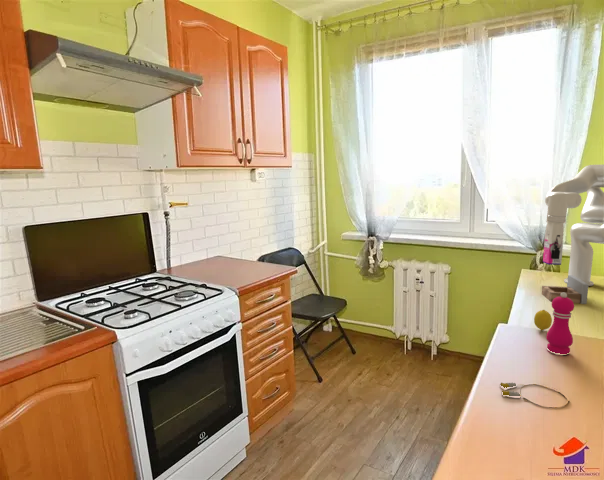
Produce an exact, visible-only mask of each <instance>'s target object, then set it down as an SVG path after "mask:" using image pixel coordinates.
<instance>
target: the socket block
mask: <svg viewBox="0 0 604 480" xmlns="http://www.w3.org/2000/svg"><path fill="white" fill-rule="evenodd" d="M562 292H565V293H566V294H567V298H569V299H571V300H572V301H573V303H574V304H581V303H580V300H581V294H580V293H578V292H577V291H575V290H574V289H572V288H571V287H567V286H557V285H556V286H553V285H542V287H541V295H542V296H543V297H545V298H546V299H547V300H548V301H550V302H551V303H552V301H553V299H554V298H556V297H561V296H560V294H561V293H562Z"/></svg>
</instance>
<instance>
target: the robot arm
mask: <svg viewBox="0 0 604 480" xmlns="http://www.w3.org/2000/svg"><path fill="white" fill-rule="evenodd" d="M602 188H604V164H589V165H586V166H584V167H583V168H582V169H581V170H580V171H579V172H578V173H577V174H576V175H575V176H574V177H573V178H572V179H569V180H566V181H564V182H561V183H559V184H556V185H555V186H553V187H552V188H551V189H550V190H549V191H548V192H547V194H546V196H545V198H544V202H545V204H546V206H547V215H546V228H545V234H544V240H545V239H547V240H548V243H549V244H552V243H553V250H552V253H551V258H552V259H559V256H560V247H561V244H562V242H563V243H564V231H565V229H564V228H565V227H564V224H566V222H567V221H566V220H567V212H568V209H575V208H577V207H579V206H580V205H581V203H582V196H581V194H583V193H585V192H586V199H585V203H584V205H583V207H582V208H581V209H582V210H581V212H580V220H581V221H582V222H577V223H574V224H573V225H571V227H570V231H569V232H570V233H569V234H570V252H569V253H570V254H569V255H570V256H569V265H568V275H573V276H575V277H576V278H578V279H580V280H582V281H583V282H585V283H587V284H588V285H589V286H588V287H591V286H594V281H592V280H591V276H592V267H593V258H594V249H593V247H592V245H591V243H592V244H604V191H603V190H602ZM554 243H557V244H554ZM555 245H556V246H555ZM568 275H567V276H568ZM567 280H568V277H566V278H564V279H563V281H564V283H565V284H567Z"/></svg>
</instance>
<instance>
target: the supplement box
mask: <svg viewBox="0 0 604 480" xmlns="http://www.w3.org/2000/svg"><path fill="white" fill-rule="evenodd" d="M554 244H557V243H554ZM555 246H556V245H555ZM563 247H564V241H563V242H562V244H561V247H560V256H559V259H552V258H551V253H552V250H553V243H552V244H549V243H548V240H547V239H545V238H544V243H543V256H542V257H543V258H542V263H544V264H546V265H548V266H549V265H550V266H551V265H553V266H554V265H555V266H562V260H563Z"/></svg>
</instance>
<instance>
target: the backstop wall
mask: <svg viewBox="0 0 604 480" xmlns="http://www.w3.org/2000/svg"><path fill="white" fill-rule="evenodd" d="M567 278H568V280H567V283H566V287H571V288H572V289H574V290H575V291H577V292H578V293H580V294H581V300H580V303H579V304H580V305H587V303H588V302H587V301H588V293H589V287H590V286H589V285H588V284H587V283H585V282H583V281H582V280H580V279H578V278H576V277H575V276H573V275H567Z"/></svg>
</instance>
